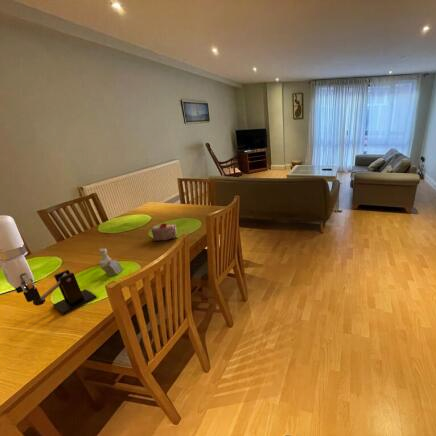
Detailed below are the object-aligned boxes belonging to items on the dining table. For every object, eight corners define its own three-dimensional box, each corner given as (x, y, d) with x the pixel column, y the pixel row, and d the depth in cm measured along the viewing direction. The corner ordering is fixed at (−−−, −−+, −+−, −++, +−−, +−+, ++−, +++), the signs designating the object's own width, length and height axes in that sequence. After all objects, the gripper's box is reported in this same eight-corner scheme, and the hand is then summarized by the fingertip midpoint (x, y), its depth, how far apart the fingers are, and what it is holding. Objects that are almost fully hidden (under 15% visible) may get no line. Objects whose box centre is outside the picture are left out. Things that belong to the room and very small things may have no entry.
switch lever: (40, 308, 87) (32, 304, 85) (37, 305, 89) (28, 301, 87) (74, 278, 95) (67, 274, 92) (70, 275, 96) (63, 271, 94)
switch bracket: (63, 315, 92) (50, 285, 86) (53, 306, 96) (40, 278, 90) (96, 297, 100) (86, 270, 95) (86, 291, 105) (75, 264, 99)
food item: (178, 234, 157) (175, 220, 153) (177, 239, 150) (174, 225, 146) (155, 237, 153) (152, 223, 149) (153, 242, 146) (149, 228, 142)
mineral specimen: (100, 272, 116) (100, 257, 115) (122, 270, 121) (122, 255, 119) (98, 279, 110) (97, 264, 108) (120, 277, 115) (120, 262, 113)
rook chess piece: (101, 265, 123) (96, 252, 120) (102, 261, 126) (97, 248, 123) (111, 263, 125) (107, 249, 122) (112, 259, 129) (108, 246, 126)
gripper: (-16, 251, 80) (5, 293, 86) (1, 264, 72) (22, 310, 78) (16, 242, 86) (33, 282, 92) (35, 254, 78) (52, 297, 84)
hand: (28, 295), depth 85 cm, fingers open, 9 cm apart
